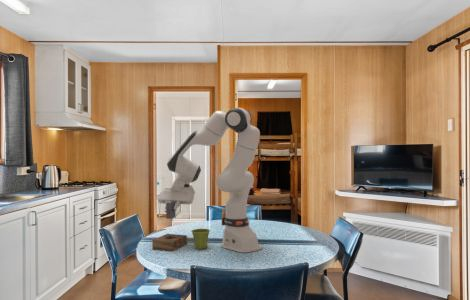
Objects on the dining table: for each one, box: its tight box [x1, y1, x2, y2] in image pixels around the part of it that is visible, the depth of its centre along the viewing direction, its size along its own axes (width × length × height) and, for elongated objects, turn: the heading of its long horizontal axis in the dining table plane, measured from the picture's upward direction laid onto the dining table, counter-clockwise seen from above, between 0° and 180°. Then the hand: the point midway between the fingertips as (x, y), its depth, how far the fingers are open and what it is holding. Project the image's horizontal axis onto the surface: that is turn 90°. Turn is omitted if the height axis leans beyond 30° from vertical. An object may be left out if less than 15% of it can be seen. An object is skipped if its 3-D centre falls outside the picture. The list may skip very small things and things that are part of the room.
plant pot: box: [191, 228, 211, 250], centre depth 165 cm, size 9×9×9 cm
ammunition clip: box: [221, 206, 226, 226], centre depth 222 cm, size 11×2×12 cm, turn 108°
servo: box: [164, 201, 178, 220], centre depth 169 cm, size 6×3×9 cm, turn 159°
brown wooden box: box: [151, 233, 188, 252], centre depth 168 cm, size 14×12×5 cm
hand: (170, 209), depth 169 cm, fingers closed on servo, 3 cm apart
